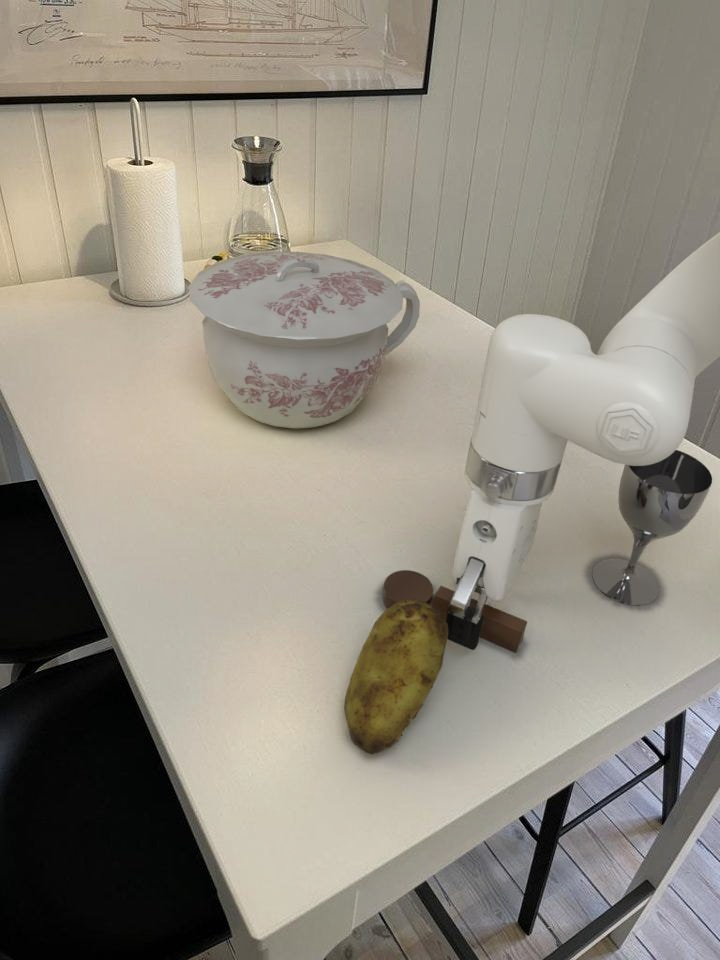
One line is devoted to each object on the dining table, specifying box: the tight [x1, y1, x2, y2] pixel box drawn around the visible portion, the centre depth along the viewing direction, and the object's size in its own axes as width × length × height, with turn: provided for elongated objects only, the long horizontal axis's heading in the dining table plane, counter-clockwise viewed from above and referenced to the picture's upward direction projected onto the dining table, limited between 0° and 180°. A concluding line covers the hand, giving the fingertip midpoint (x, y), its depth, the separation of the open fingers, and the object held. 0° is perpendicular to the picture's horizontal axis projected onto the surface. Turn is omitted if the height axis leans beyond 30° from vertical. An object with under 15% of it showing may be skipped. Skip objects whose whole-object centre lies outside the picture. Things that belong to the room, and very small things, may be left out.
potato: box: [343, 599, 449, 755], centre depth 64 cm, size 8×13×8 cm, turn 137°
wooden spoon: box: [382, 569, 528, 654], centre depth 74 cm, size 14×5×3 cm, turn 62°
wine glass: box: [591, 449, 713, 606], centre depth 77 cm, size 8×8×15 cm
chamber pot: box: [188, 251, 421, 430], centre depth 100 cm, size 28×28×21 cm
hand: (478, 609), depth 72 cm, fingers open, 9 cm apart
